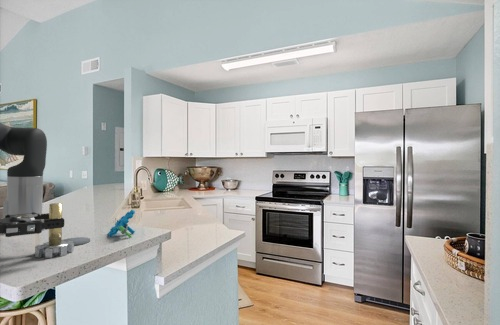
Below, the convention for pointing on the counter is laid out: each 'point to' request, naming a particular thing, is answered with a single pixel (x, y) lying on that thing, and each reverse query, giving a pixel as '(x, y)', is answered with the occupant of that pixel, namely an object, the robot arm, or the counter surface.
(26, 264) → the counter surface
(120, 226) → the blue splat disc
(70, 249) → the gear
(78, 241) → the pad
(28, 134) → the robot arm
